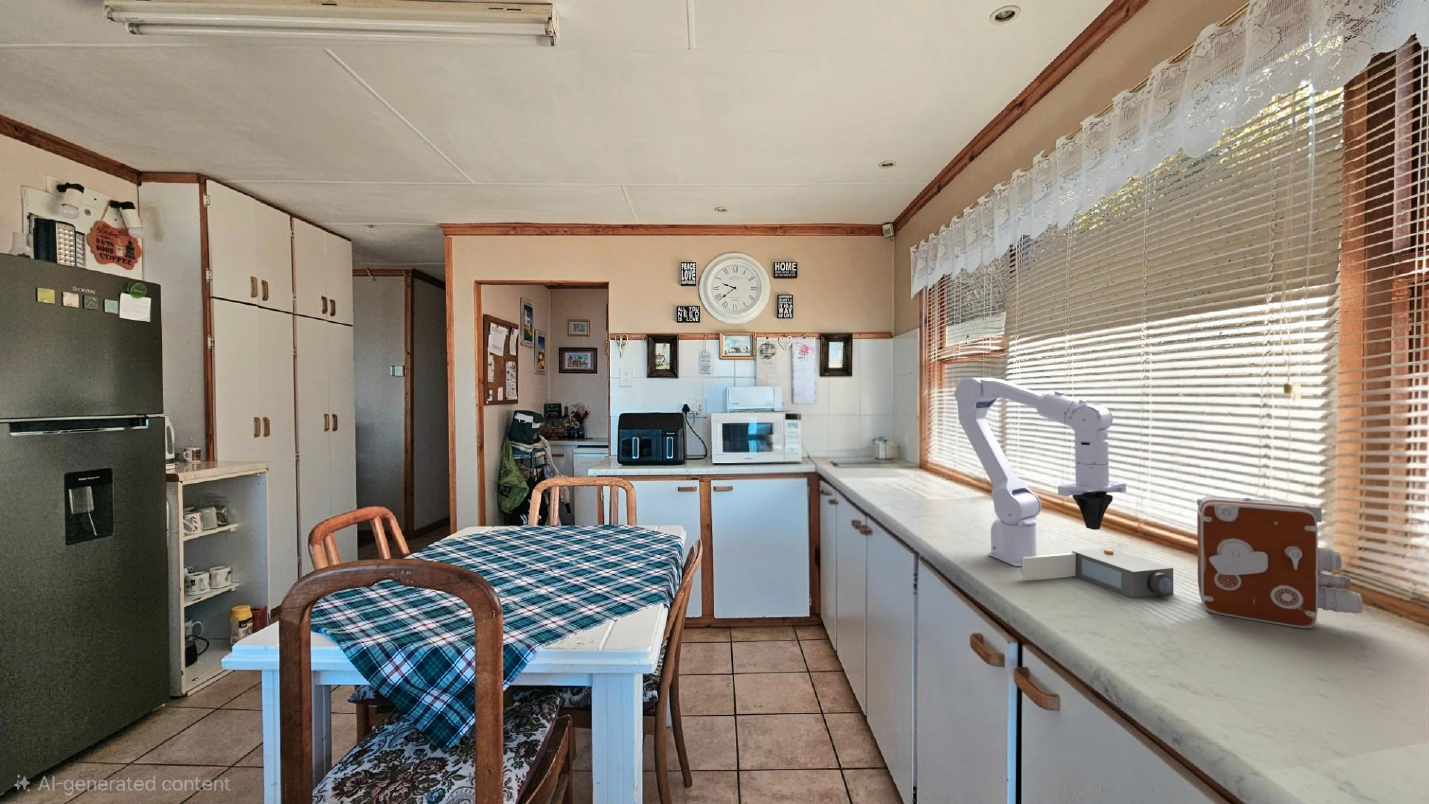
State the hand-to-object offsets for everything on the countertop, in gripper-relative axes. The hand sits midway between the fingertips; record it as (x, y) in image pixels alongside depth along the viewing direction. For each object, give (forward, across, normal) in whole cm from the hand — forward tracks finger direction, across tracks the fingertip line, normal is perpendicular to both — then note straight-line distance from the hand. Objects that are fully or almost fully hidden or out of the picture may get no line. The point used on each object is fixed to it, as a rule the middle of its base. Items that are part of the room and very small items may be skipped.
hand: (1092, 528), depth 115 cm
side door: (+10, -8, +3) cm, 13 cm away
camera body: (+10, +2, -4) cm, 11 cm away
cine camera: (+11, +12, -24) cm, 29 cm away
